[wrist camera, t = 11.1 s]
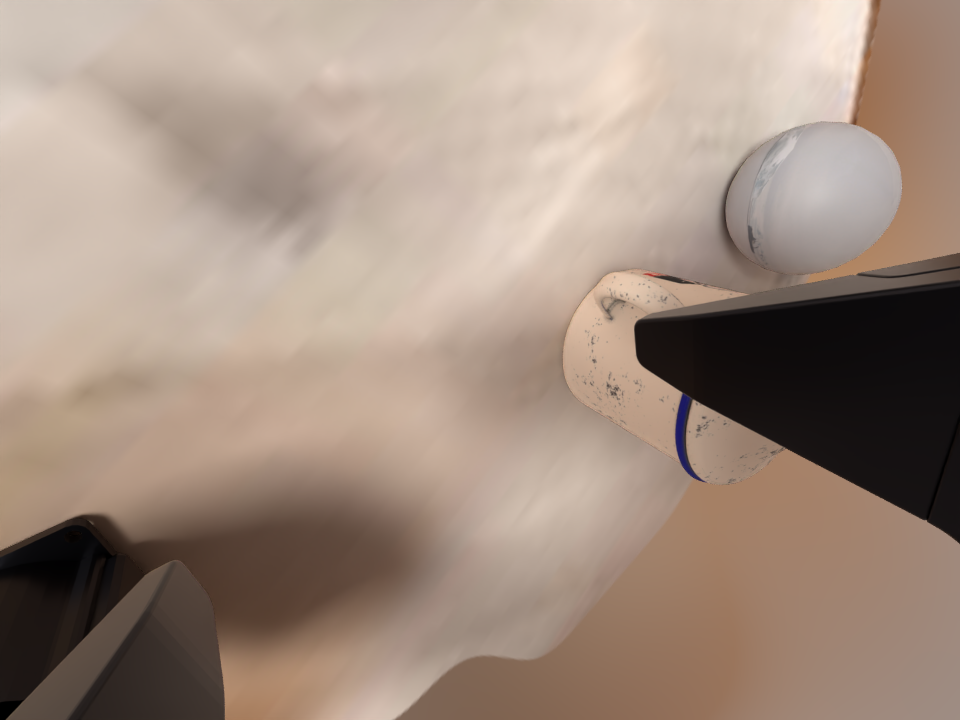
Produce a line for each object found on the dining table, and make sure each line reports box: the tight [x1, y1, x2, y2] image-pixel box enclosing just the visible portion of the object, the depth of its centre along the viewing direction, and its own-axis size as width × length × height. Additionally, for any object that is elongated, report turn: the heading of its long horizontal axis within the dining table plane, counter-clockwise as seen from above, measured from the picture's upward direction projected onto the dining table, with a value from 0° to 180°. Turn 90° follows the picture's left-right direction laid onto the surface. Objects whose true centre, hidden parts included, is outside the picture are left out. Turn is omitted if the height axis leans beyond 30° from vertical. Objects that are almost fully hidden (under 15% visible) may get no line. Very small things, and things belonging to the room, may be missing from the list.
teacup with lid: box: [563, 269, 786, 485], centre depth 23 cm, size 12×9×12 cm
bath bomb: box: [725, 122, 902, 275], centre depth 27 cm, size 8×8×8 cm
